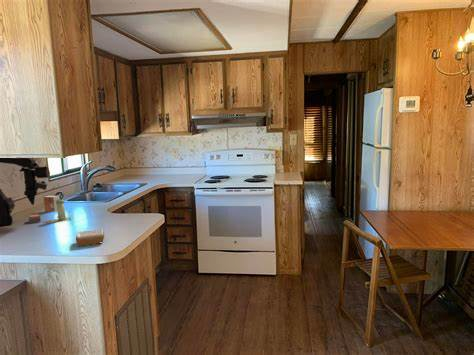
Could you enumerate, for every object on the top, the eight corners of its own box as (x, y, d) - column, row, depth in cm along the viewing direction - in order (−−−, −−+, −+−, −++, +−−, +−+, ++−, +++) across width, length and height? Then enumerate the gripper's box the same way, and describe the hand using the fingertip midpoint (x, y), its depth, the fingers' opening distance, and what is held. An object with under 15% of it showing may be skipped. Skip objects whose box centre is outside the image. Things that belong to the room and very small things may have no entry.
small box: (44, 212, 240) (43, 196, 238) (51, 210, 245) (49, 195, 244) (54, 212, 238) (53, 197, 236) (60, 210, 243) (59, 195, 242)
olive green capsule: (58, 220, 211) (55, 201, 209) (58, 219, 214) (55, 200, 213) (66, 219, 213) (63, 200, 211) (65, 218, 216) (63, 199, 215)
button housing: (29, 224, 207) (28, 218, 207) (29, 222, 213) (29, 216, 212) (40, 222, 210) (40, 217, 210) (41, 220, 215) (40, 215, 215)
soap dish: (76, 248, 163) (75, 237, 162) (77, 242, 172) (76, 231, 171) (105, 243, 167) (104, 233, 167) (104, 238, 176) (103, 228, 176)
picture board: (42, 225, 205) (42, 224, 205) (43, 219, 219) (42, 218, 219) (77, 220, 213) (77, 219, 213) (75, 214, 228) (75, 213, 228)
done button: (30, 220, 208) (30, 216, 208) (31, 218, 212) (30, 215, 212) (38, 219, 210) (38, 215, 210) (38, 217, 214) (38, 214, 214)
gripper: (45, 179, 203) (48, 205, 205) (45, 175, 220) (48, 200, 222) (22, 181, 198) (25, 208, 200) (25, 177, 215) (27, 202, 217)
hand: (33, 204), depth 210 cm, fingers closed
